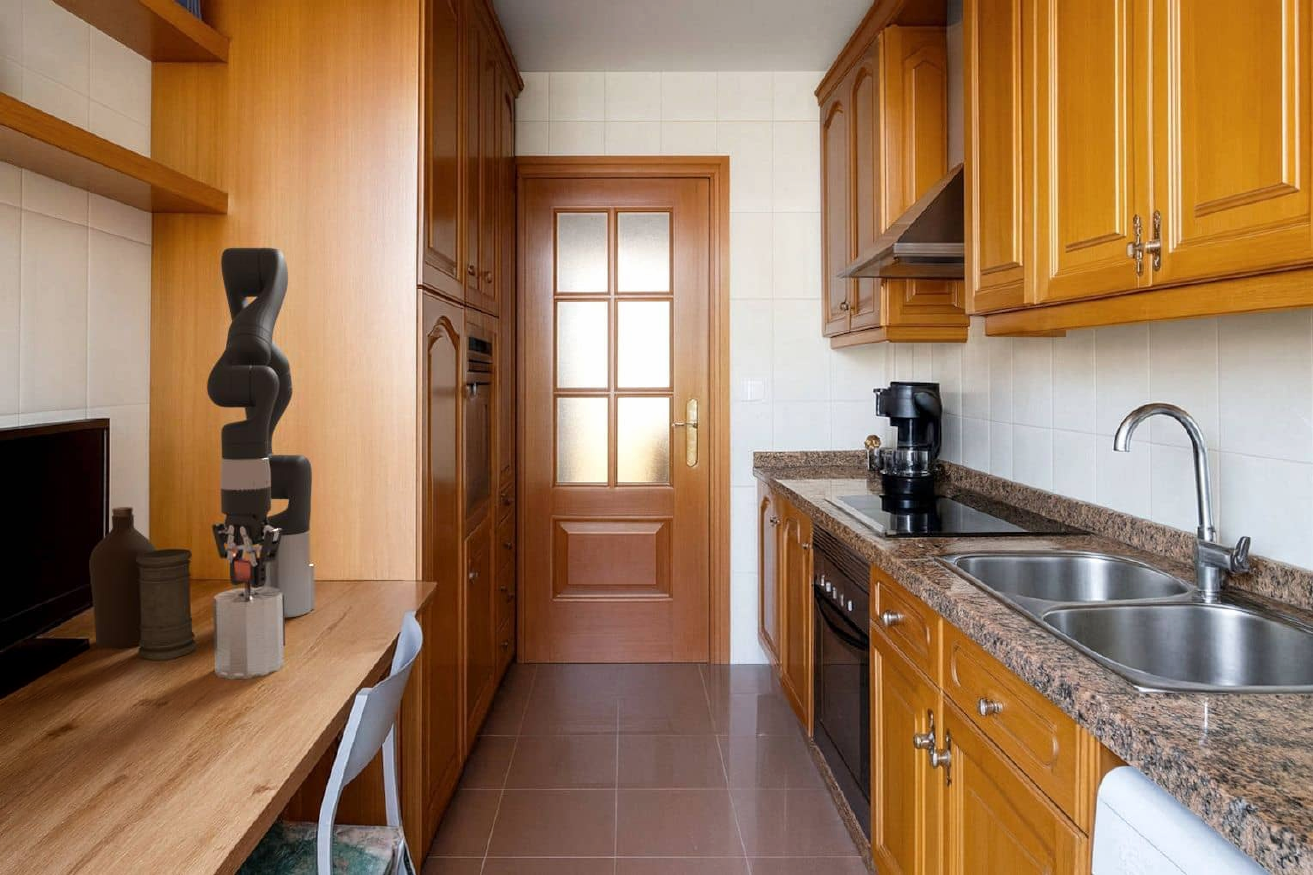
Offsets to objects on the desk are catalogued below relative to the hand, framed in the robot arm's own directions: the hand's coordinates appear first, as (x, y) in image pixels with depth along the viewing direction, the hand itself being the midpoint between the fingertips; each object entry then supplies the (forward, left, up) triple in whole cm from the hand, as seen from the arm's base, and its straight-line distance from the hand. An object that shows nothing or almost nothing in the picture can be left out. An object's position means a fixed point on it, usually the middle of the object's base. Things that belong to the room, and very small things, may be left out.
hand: (248, 584), depth 137 cm
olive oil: (-1, -32, -15) cm, 35 cm away
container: (0, -20, -15) cm, 25 cm away
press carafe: (0, 0, -14) cm, 14 cm away
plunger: (0, 0, -13) cm, 13 cm away
